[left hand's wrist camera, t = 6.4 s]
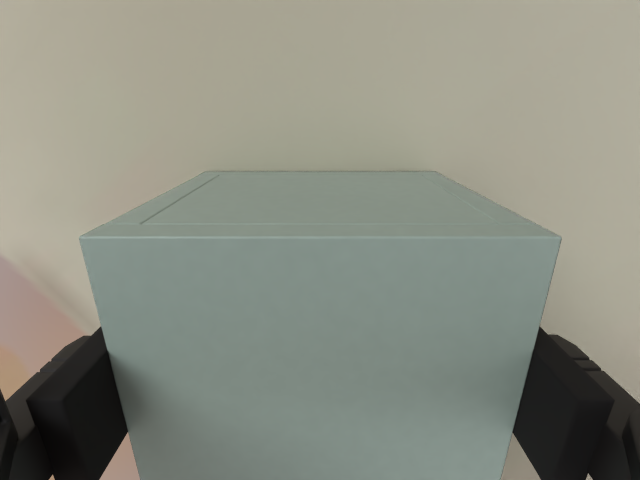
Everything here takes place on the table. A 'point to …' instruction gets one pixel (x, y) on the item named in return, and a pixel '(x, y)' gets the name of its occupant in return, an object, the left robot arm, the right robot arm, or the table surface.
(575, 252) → the table surface
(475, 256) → the cabinet
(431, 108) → the table surface
